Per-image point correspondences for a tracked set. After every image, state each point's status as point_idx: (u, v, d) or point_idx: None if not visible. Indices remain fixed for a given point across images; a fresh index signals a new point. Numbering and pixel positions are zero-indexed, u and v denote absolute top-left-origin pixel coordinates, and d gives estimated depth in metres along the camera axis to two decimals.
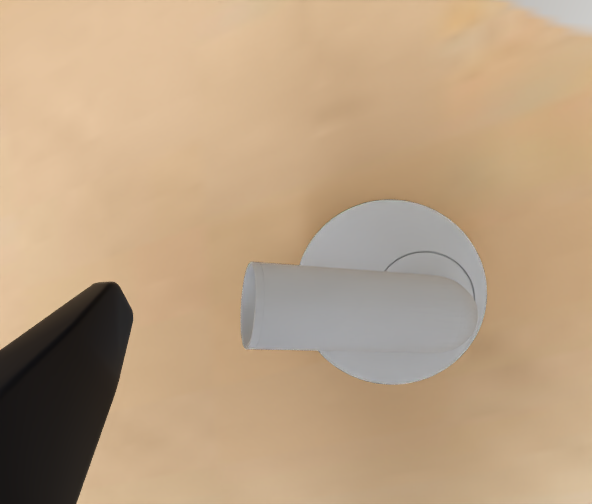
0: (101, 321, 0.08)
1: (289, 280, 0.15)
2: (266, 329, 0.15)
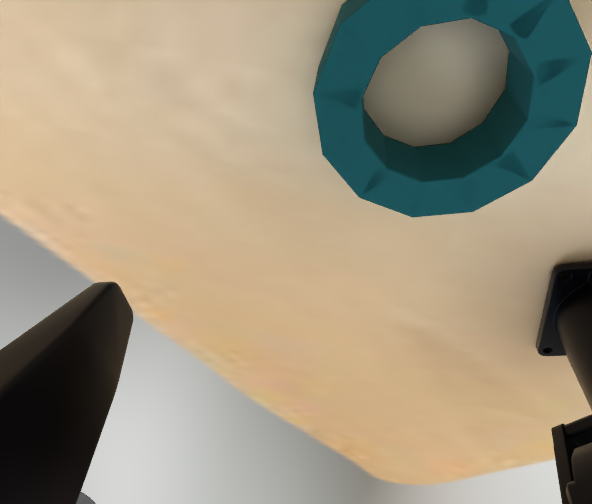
0: (101, 321, 0.08)
1: None
2: None
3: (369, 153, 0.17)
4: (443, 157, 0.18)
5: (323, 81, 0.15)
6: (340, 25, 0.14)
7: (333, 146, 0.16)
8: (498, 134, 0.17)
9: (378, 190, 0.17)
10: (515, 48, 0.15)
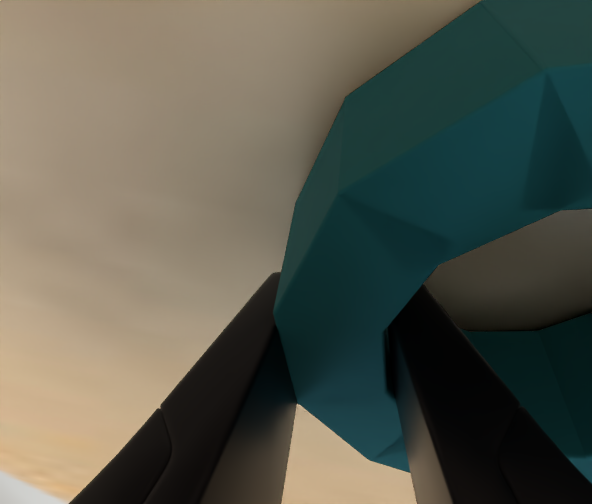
0: None
1: None
2: None
3: (394, 410, 0.08)
4: (531, 375, 0.09)
5: (296, 296, 0.06)
6: (339, 194, 0.05)
7: (318, 394, 0.08)
8: None
9: None
10: None
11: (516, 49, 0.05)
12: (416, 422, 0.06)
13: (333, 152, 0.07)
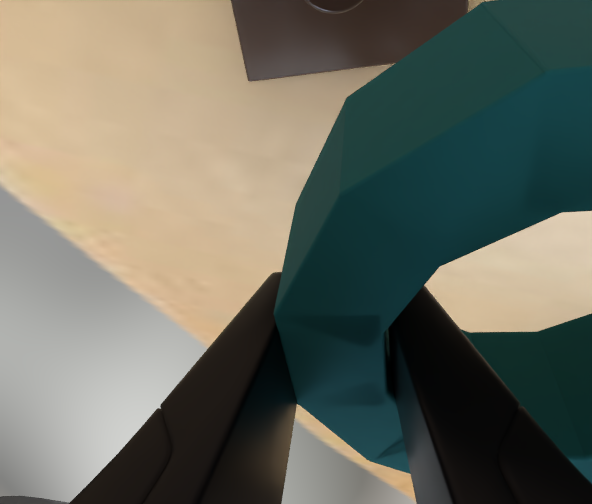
0: None
1: None
2: None
3: (394, 411, 0.08)
4: (531, 376, 0.09)
5: (296, 297, 0.06)
6: (341, 195, 0.05)
7: (319, 395, 0.08)
8: None
9: None
10: None
11: (518, 51, 0.05)
12: (416, 422, 0.06)
13: (334, 153, 0.07)
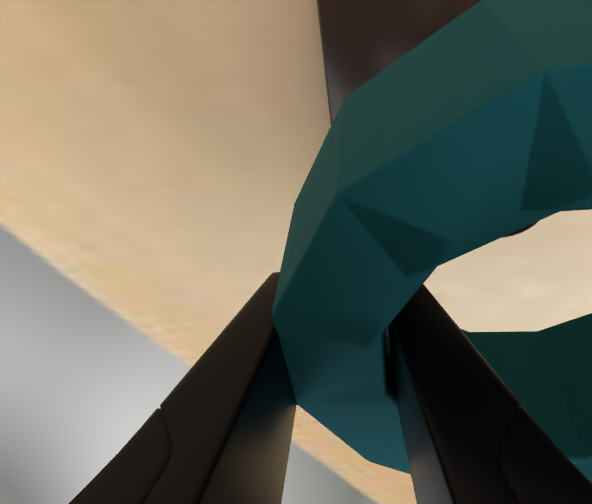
0: None
1: None
2: None
3: (393, 411, 0.08)
4: (531, 376, 0.09)
5: (294, 297, 0.06)
6: (337, 195, 0.05)
7: (317, 395, 0.08)
8: None
9: (407, 457, 0.09)
10: None
11: (515, 49, 0.05)
12: (416, 422, 0.06)
13: (332, 152, 0.07)
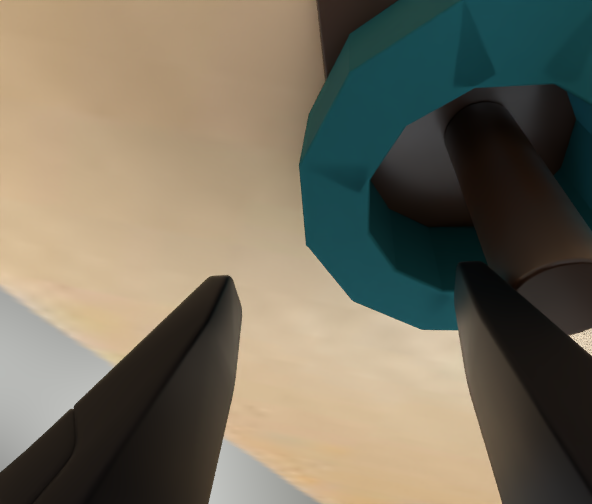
0: (223, 316, 0.08)
1: None
2: None
3: (373, 250, 0.12)
4: (468, 250, 0.13)
5: (315, 150, 0.10)
6: (349, 73, 0.09)
7: (322, 236, 0.11)
8: None
9: (379, 295, 0.12)
10: None
11: None
12: (521, 422, 0.05)
13: (342, 63, 0.10)
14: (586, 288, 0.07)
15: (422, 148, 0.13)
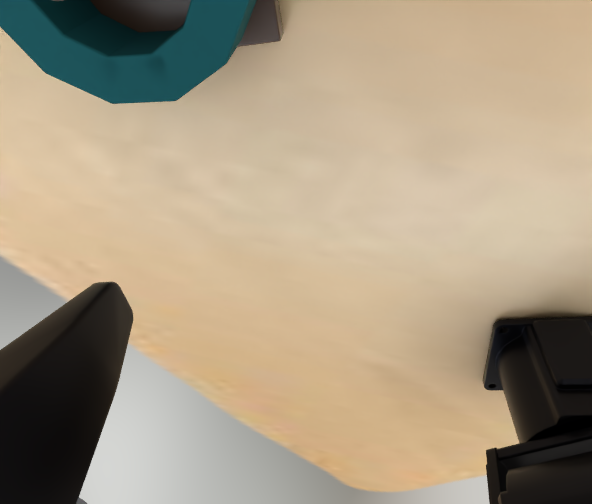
0: (101, 321, 0.08)
1: None
2: None
3: (35, 11, 0.14)
4: (154, 39, 0.16)
5: None
6: None
7: None
8: None
9: (62, 64, 0.15)
10: None
11: None
12: None
13: None
14: None
15: None
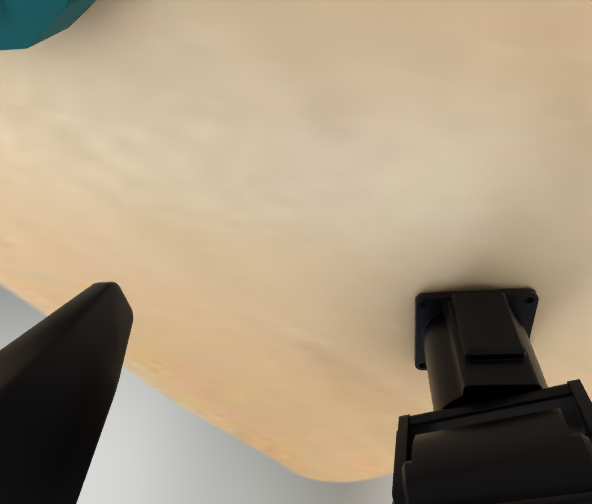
0: (101, 321, 0.08)
1: None
2: None
3: None
4: None
5: None
6: None
7: None
8: None
9: None
10: None
11: None
12: None
13: None
14: None
15: None
